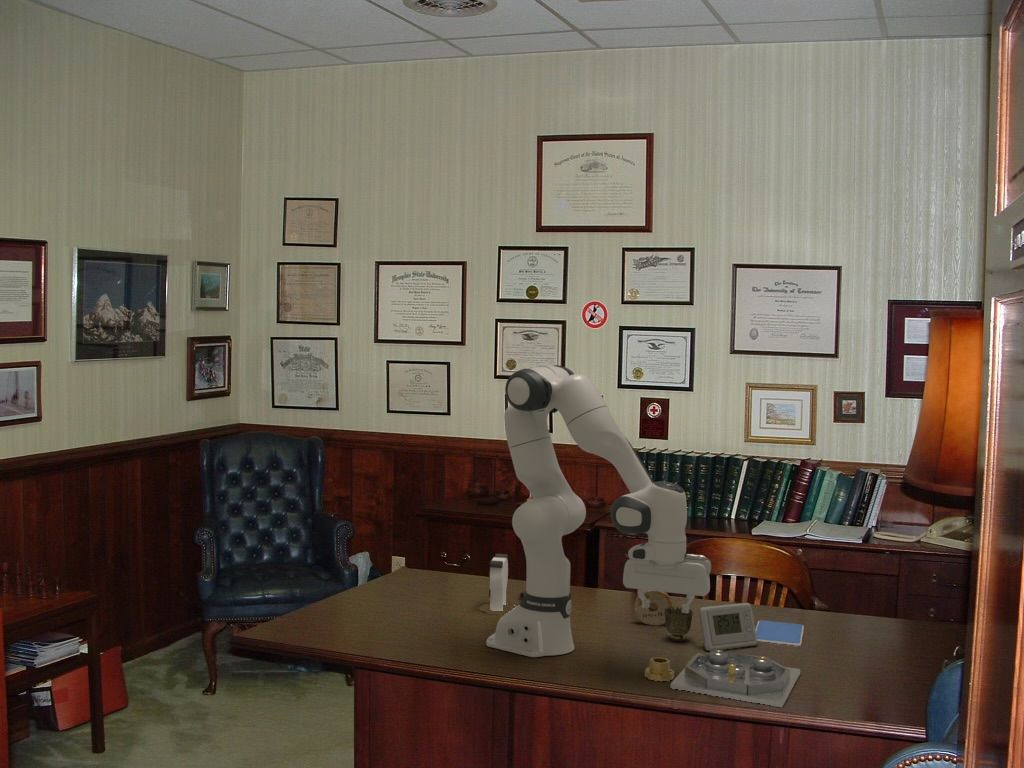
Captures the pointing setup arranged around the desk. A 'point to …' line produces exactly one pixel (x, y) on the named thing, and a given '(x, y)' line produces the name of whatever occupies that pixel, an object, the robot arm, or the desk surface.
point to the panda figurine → (498, 581)
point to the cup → (677, 622)
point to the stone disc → (649, 614)
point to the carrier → (738, 677)
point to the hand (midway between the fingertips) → (665, 610)
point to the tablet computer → (779, 632)
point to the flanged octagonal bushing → (659, 670)
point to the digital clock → (727, 626)
